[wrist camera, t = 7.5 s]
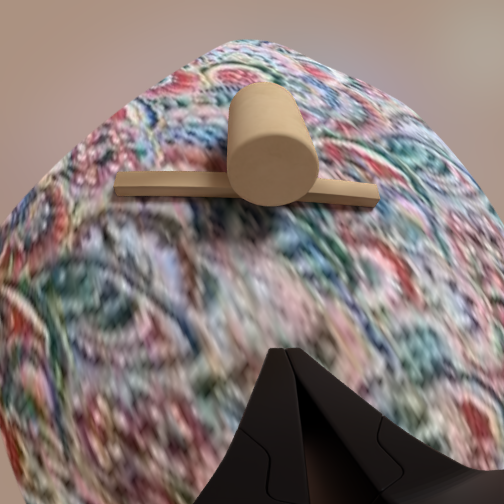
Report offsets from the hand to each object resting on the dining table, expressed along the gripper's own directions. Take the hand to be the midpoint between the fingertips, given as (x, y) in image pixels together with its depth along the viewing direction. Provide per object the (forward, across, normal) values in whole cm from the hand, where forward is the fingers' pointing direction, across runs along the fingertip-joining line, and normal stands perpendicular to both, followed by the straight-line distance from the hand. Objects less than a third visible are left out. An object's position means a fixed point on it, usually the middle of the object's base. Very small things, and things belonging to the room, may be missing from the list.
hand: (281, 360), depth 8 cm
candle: (+11, -1, -4) cm, 12 cm away
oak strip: (+16, 0, -2) cm, 17 cm away
